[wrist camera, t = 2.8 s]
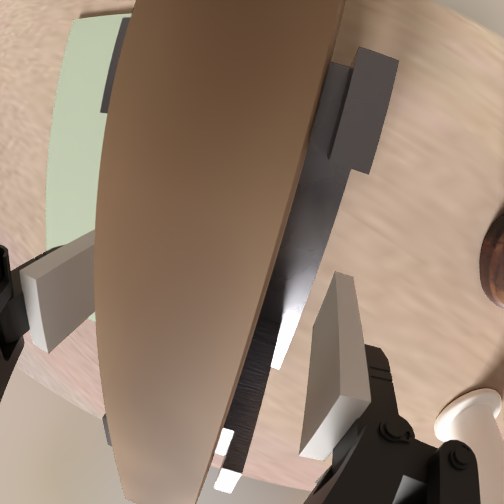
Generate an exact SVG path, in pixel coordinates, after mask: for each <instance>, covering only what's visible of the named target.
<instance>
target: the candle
mask: <svg viewBox="0 0 504 504" xmlns="http://www.w3.org/2000/svg"><path fill="white" fill-rule="evenodd" d="M501 406H502V400H501V397H500V395H499V393H498V392H497V391H495V390H493V389H488V388H484V389H478V390H474V391H471V392H469V393H466V394H464V395H462V396H461V397H459V398H457V399H456V400H454V401H453V402H451V403H450V404H449V405H448V406H447V407H446V408H445V409H444V410H443V411H442V412H441V413H440V414H439V416H438V417H437V419H436V421H435V425H434V431H435V435H436V437H437V438H438V439H439V440H441V441H444V442H446V441H449V440H459V441H461V442H464V443H465V444H466V445H468V446H469V447H470V448H471V449H472V451H473V452H474V454H475V456H476V460H477V465H478V474H479V485H480V501H481V504H504V442H503V439H502V436H501V433H500V431H499V428H498V425H497V423H496V420H495V419H496V417H497V416H498V414H499V412H500V410H501Z"/></svg>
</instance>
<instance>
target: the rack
mask: <svg viewBox="0 0 504 504" xmlns="http://www.w3.org/2000/svg"><path fill="white" fill-rule="evenodd" d="M130 18H131V17H125V18H122V21H121V25H120V28H119V32H118V35H117V39H116V42H115V46H114V50H113V54H112V58H111V62H110V66H109V70H108V75H107V79H106V84H105V89H104V94H103V99H102V104H101V110H100V113H106V114H107V113H108V108H109V102H110V97H111V92H112V87H113V83H114V78H115V74H116V69H117V65H118V61H119V57H120V53H121V49H122V45H123V42H124V38H125V35H126V31H127V28H128V24H129V21H130ZM398 63H399V60H396V59H394V58H391V57H388V56H385V55H383V54H380V53H377V52H374V51H371V50H368V49H365V48H362V47H359V48H358V50H357V53H356V55H355V57H354V59H353V62H352V64H351V66H350V67H347V66H344V65H340V64H337V63H333V62H330V66H329V70H328V73H327V77H326V81H325V85H324V89H323V93H322V97H321V100H320V104H319V108H318V112H317V116H316V119H315V123H314V127H313V131H312V134H311V138H310V142H309V145H308V149H307V153H306V156H305V160H304V164H303V167H302V171H301V174H300V178H299V182H298V185H297V189H296V192H295V196H294V199H293V203H292V206H291V210H290V213H289V217H288V220H287V224H286V227H285V231H284V234H283V238H282V241H281V244H280V248H279V251H278V255H277V258H276V261H275V265H274V268H273V271H272V275H271V278H270V281H269V285H268V288H267V291H266V295H265V298H264V301H263V305H262V308H261V311H260V314H259V318H258V321H257V324H256V327H255V330H254V334H253V337H252V340H251V343H250V346H249V350H248V353H247V356H246V359H245V362H244V365H243V369H242V372H241V375H240V378H239V381H238V384H237V387H236V390H235V393H234V396H233V399H232V403H231V406H230V409H229V412H228V415H227V418H226V421H225V424H224V427H223V430H222V433H221V436H220V439H219V442H218V445H217V448H216V450H215V453H217V454H220V455H223V456H225V457H224V459H223V462H222V465H221V468H220V471H219V474H218V477H217V479H216V483H215V485H214V489H217V490H220V491H223V492H227V493H231V492H232V490H233V488H234V487H235V485H236V483H237V481H238V480H239V478H240V476H241V474H242V472H243V468H244V465H245V461H246V458H247V454H248V451H249V447H250V444H251V440H252V437H253V433H254V429H255V426H256V422H257V418H258V414H259V411H260V407H261V403H262V399H263V396H264V392H265V388H266V384H267V380H268V376H269V372H270V368H271V367H273V368H277V369H279V368H280V366H281V364H282V361H283V359H284V356H285V354H286V352H287V349H288V347H289V344H290V342H291V339H292V337H293V334H294V332H295V329H296V326H297V324H298V321H299V319H300V316H301V314H302V311H303V308H304V306H305V303H306V300H307V298H308V295H309V292H310V290H311V287H312V284H313V281H314V279H315V276H316V273H317V270H318V268H319V265H320V262H321V259H322V256H323V253H324V250H325V248H326V245H327V242H328V239H329V236H330V233H331V230H332V227H333V224H334V221H335V218H336V215H337V212H338V209H339V205H340V202H341V199H342V196H343V193H344V190H345V186H346V183H347V180H348V177H349V173H350V170H351V169H354V170H357V171H360V172H363V173H366V174H368V175H369V172H370V169H371V166H372V163H373V159H374V156H375V152H376V149H377V145H378V142H379V138H380V135H381V131H382V128H383V124H384V120H385V116H386V113H387V109H388V105H389V101H390V97H391V93H392V89H393V84H394V80H395V76H396V72H397V67H398ZM103 423H104V429H105V433H106V438H107V442H108V445H110V446H112V443H111V438H110V433H109V428H108V422H107V417H106V414H105V415H104V416H103Z"/></svg>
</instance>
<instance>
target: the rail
mask: <svg viewBox="0 0 504 504" xmlns="http://www.w3.org/2000/svg"><path fill="white" fill-rule="evenodd" d="M344 4H345V0H136V2H135V5H134V8H133V11H132V15H131V18H130V21H129V24H128V28H127V31H126V35H125V38H124V42H123V45H122V49H121V53H120V57H119V61H118V65H117V69H116V74H115V78H114V83H113V87H112V92H111V97H110V102H109V108H108V113H107V119H106V125H105V132H104V138H103V145H102V153H101V161H100V169H99V179H98V190H97V202H96V218H95V241H94V296H95V319H96V335H97V347H98V358H99V367H100V376H101V384H102V391H103V398H104V405H105V411H106V417H107V422H108V428H109V433H110V438H111V443H112V448H113V452H114V457H115V461H116V465H117V470H118V474H119V477H120V481H121V485H122V489H123V492H124V496H125V498H126V499H128V500H130V501H132V502H134V503H136V504H196V502H197V500H198V497H199V495H200V492H201V490H202V487H203V484H204V482H205V479H206V477H207V474H208V471H209V468H210V465H211V462H212V459H213V456H214V453H215V450H216V448H217V445H218V442H219V439H220V436H221V433H222V430H223V427H224V424H225V421H226V418H227V415H228V412H229V409H230V406H231V403H232V399H233V396H234V393H235V390H236V387H237V384H238V381H239V378H240V375H241V372H242V369H243V365H244V362H245V359H246V356H247V353H248V350H249V346H250V343H251V340H252V337H253V334H254V330H255V327H256V324H257V321H258V318H259V314H260V311H261V308H262V305H263V301H264V298H265V295H266V291H267V288H268V285H269V281H270V278H271V275H272V271H273V268H274V265H275V261H276V258H277V255H278V251H279V248H280V244H281V241H282V238H283V234H284V231H285V227H286V224H287V220H288V217H289V213H290V210H291V206H292V203H293V199H294V196H295V192H296V189H297V185H298V182H299V178H300V174H301V171H302V167H303V164H304V160H305V156H306V153H307V149H308V145H309V142H310V138H311V134H312V131H313V127H314V123H315V119H316V116H317V112H318V108H319V104H320V100H321V97H322V93H323V89H324V85H325V81H326V77H327V73H328V70H329V66H330V62H331V58H332V54H333V50H334V46H335V42H336V38H337V33H338V29H339V25H340V21H341V17H342V13H343V9H344Z"/></svg>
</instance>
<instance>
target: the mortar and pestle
mask: <svg viewBox="0 0 504 504" xmlns="http://www.w3.org/2000/svg"><path fill="white" fill-rule="evenodd" d="M480 280H481V284H482V288H483V290H484V292H485V294H486V295H487V296H488V298H489V299H490V300H491V301H492V302H493V303H494V304H496V305H497V306H499V307H502V308H504V214H503V215H502V216H501V217H500V218H499V219H498V220H497V221H496V222H495V223H494V225H493V226H492V228H491V230H490V231H489V233H488V234H487V236H486V238H485V240H484V242H483V245H482V249H481V256H480Z"/></svg>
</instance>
